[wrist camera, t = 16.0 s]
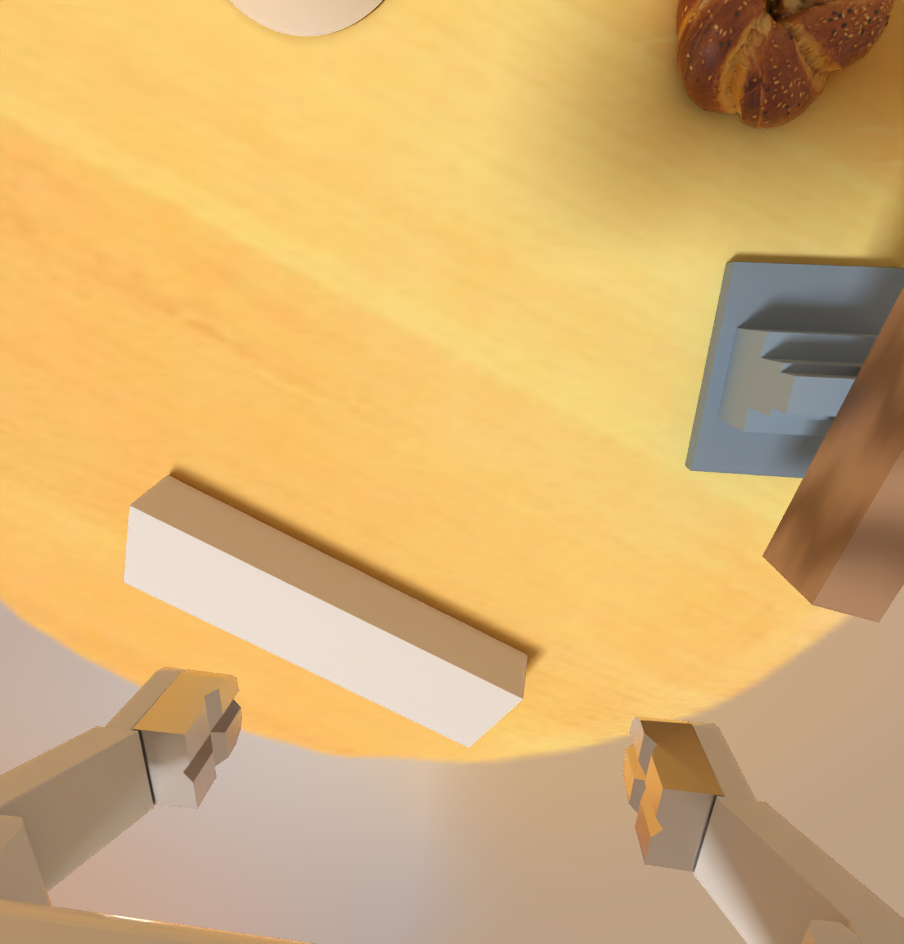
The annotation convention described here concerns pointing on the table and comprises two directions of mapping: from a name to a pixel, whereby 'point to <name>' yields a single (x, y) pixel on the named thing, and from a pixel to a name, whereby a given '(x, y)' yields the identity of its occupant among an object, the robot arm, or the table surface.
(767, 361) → the gray stepped block
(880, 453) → the walnut bar
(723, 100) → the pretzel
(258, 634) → the beige long block
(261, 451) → the table surface
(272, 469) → the table surface
